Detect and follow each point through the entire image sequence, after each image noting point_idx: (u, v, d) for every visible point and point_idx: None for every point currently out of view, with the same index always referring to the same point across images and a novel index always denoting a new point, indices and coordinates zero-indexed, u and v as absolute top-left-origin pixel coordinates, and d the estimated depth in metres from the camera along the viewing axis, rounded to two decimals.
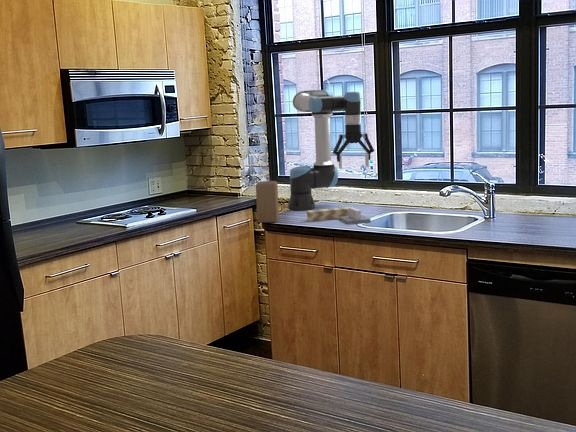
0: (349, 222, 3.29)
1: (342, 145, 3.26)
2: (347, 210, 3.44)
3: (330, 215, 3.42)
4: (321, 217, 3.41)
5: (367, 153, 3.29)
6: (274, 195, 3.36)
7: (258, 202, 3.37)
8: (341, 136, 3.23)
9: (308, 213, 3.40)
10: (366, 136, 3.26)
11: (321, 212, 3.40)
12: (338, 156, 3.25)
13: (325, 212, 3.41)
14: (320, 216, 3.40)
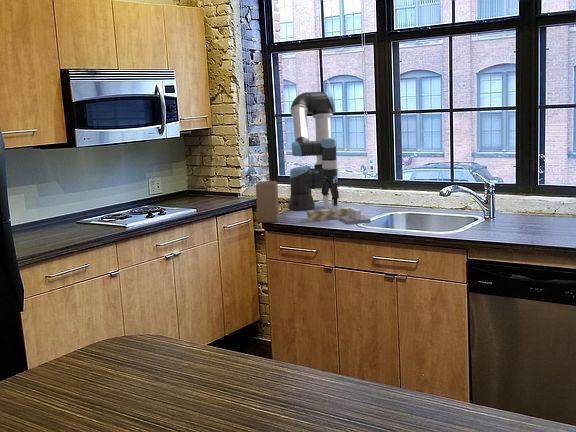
0: (349, 222, 3.29)
1: (328, 187, 3.46)
2: (347, 210, 3.44)
3: (330, 215, 3.42)
4: (321, 217, 3.41)
5: None
6: (274, 195, 3.36)
7: (258, 202, 3.37)
8: (323, 178, 3.46)
9: (308, 213, 3.40)
10: (331, 182, 3.34)
11: (321, 212, 3.40)
12: None
13: (325, 212, 3.41)
14: (320, 216, 3.40)
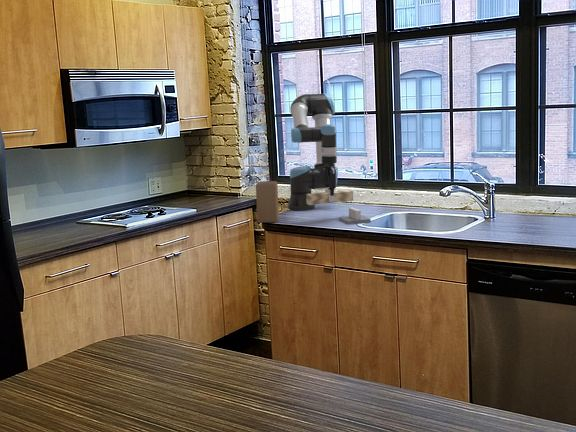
0: (349, 222, 3.29)
1: None
2: (346, 193, 3.43)
3: None
4: (321, 200, 3.39)
5: None
6: (274, 195, 3.36)
7: (258, 202, 3.37)
8: (323, 168, 3.45)
9: (308, 196, 3.38)
10: (330, 172, 3.34)
11: (321, 195, 3.39)
12: (326, 188, 3.45)
13: (325, 195, 3.40)
14: (319, 199, 3.39)
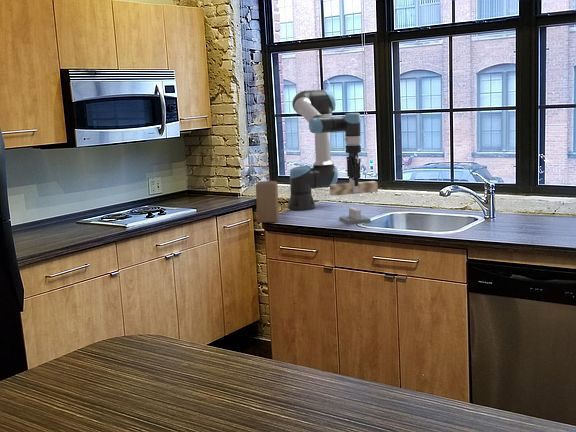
0: (349, 222, 3.29)
1: (352, 167, 3.34)
2: (371, 184, 3.33)
3: None
4: (345, 190, 3.30)
5: None
6: (274, 195, 3.36)
7: (258, 202, 3.37)
8: (346, 158, 3.36)
9: (331, 186, 3.29)
10: (355, 161, 3.25)
11: (344, 185, 3.29)
12: None
13: (348, 185, 3.30)
14: (343, 190, 3.29)
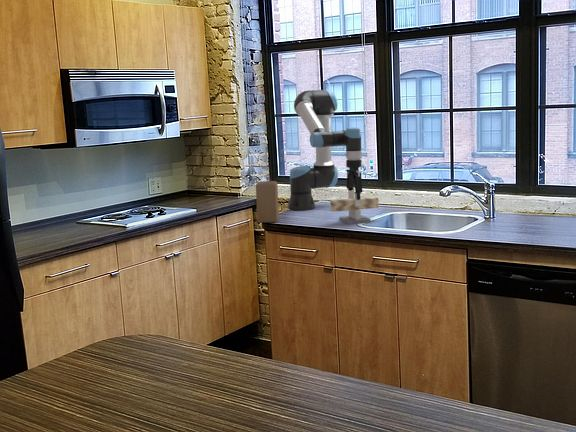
0: (349, 222, 3.29)
1: (352, 180, 3.37)
2: (372, 200, 3.35)
3: (354, 204, 3.33)
4: (345, 207, 3.31)
5: None
6: (274, 195, 3.36)
7: (258, 202, 3.37)
8: (347, 171, 3.37)
9: (332, 203, 3.31)
10: (356, 175, 3.26)
11: (345, 202, 3.31)
12: None
13: (349, 202, 3.32)
14: (343, 206, 3.31)
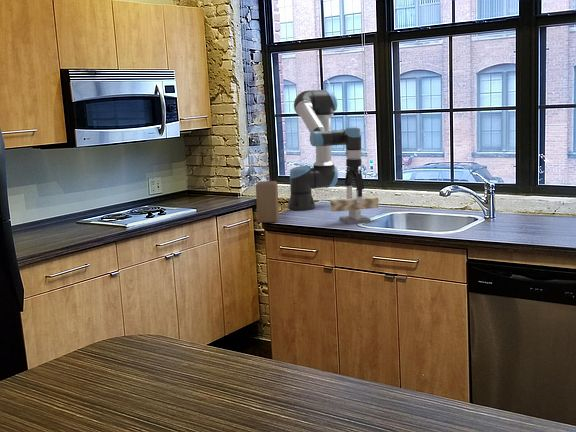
0: (349, 222, 3.29)
1: None
2: (371, 200, 3.35)
3: (354, 204, 3.33)
4: (345, 207, 3.31)
5: None
6: (274, 195, 3.36)
7: (258, 202, 3.37)
8: (347, 168, 3.37)
9: (332, 203, 3.31)
10: (356, 172, 3.25)
11: (345, 202, 3.31)
12: (347, 186, 3.41)
13: (349, 202, 3.32)
14: (343, 206, 3.31)
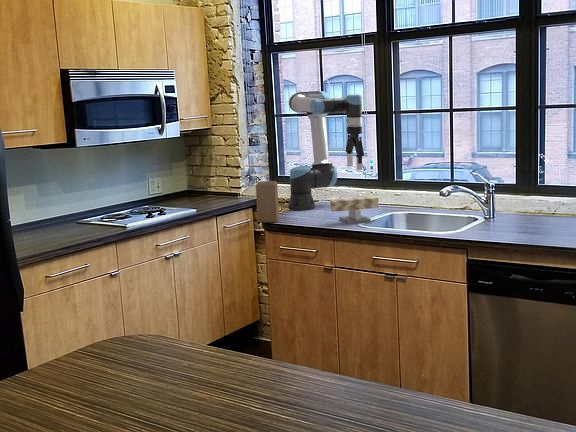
0: (349, 222, 3.29)
1: None
2: (371, 200, 3.35)
3: (354, 204, 3.33)
4: (345, 207, 3.31)
5: None
6: (274, 195, 3.36)
7: (258, 202, 3.37)
8: (347, 136, 3.41)
9: (332, 203, 3.31)
10: (356, 139, 3.29)
11: (345, 202, 3.31)
12: None
13: (349, 202, 3.32)
14: (343, 206, 3.31)
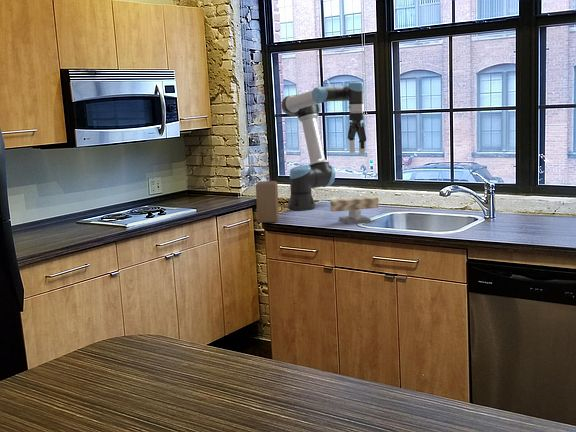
0: (349, 222, 3.29)
1: None
2: (371, 200, 3.35)
3: (354, 204, 3.33)
4: (345, 207, 3.31)
5: None
6: (274, 195, 3.36)
7: (258, 202, 3.37)
8: None
9: (332, 203, 3.31)
10: (358, 125, 3.38)
11: (345, 202, 3.31)
12: (350, 141, 3.54)
13: (349, 202, 3.32)
14: (343, 206, 3.31)
